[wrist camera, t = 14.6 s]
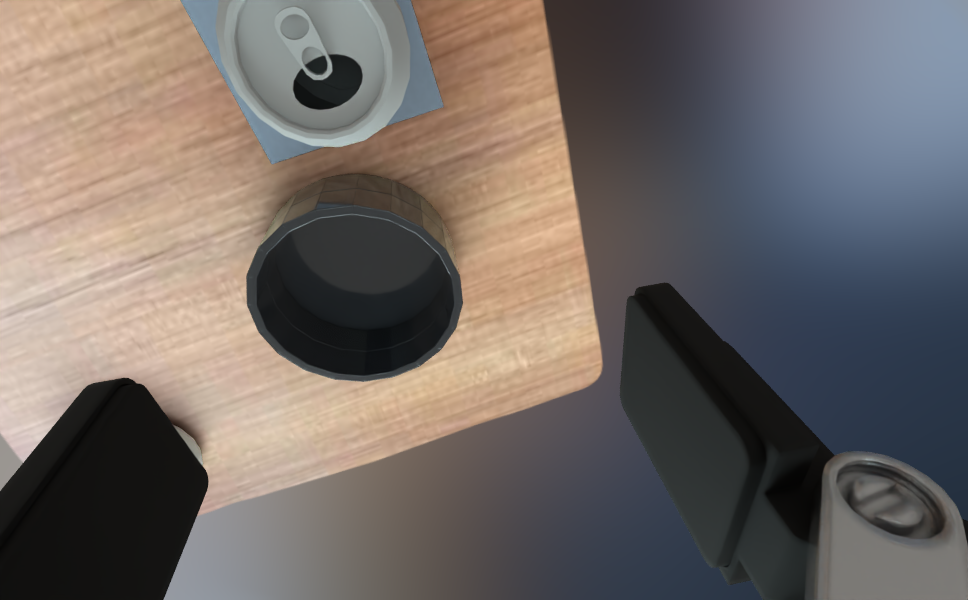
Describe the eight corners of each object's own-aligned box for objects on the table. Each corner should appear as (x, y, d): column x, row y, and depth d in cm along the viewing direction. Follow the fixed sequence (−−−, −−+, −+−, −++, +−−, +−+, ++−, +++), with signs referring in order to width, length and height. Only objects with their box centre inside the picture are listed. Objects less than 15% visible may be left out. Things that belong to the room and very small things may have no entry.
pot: (267, 323, 37) (247, 373, 32) (269, 155, 31) (244, 186, 26) (435, 340, 41) (440, 387, 36) (471, 193, 34) (483, 227, 29)
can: (321, 122, 30) (283, 186, 20) (245, -9, 25) (148, -10, 16) (427, 73, 29) (443, 114, 19) (368, -70, 25) (348, -112, 15)
